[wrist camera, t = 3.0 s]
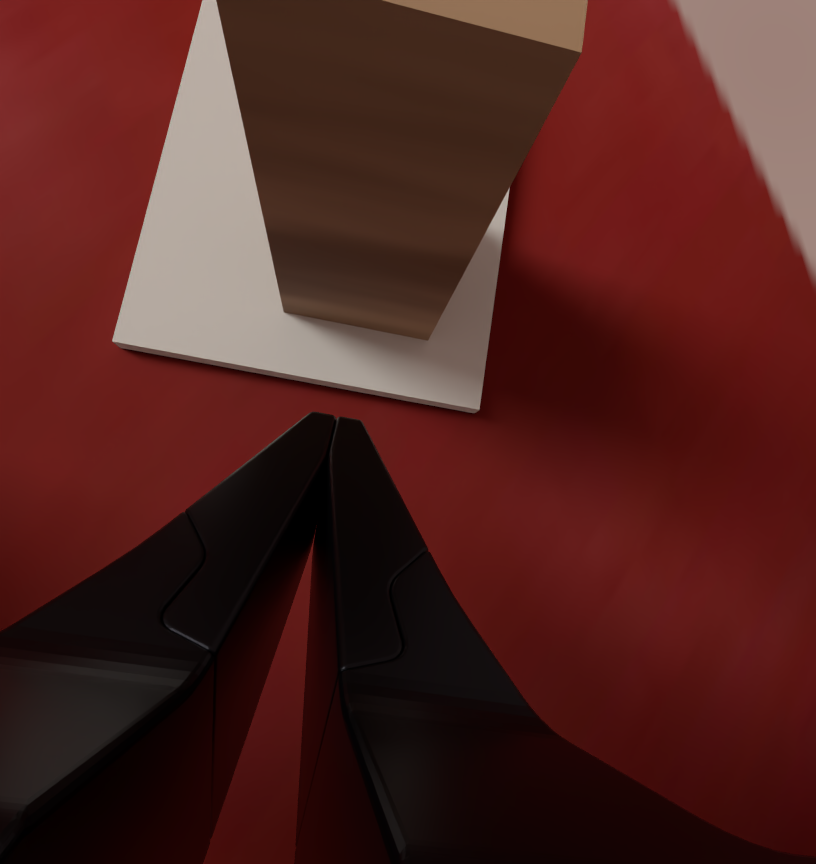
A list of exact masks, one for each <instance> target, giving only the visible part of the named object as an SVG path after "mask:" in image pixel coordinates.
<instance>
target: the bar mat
mask: <svg viewBox="0 0 816 864" xmlns="http://www.w3.org/2000/svg"><path fill="white" fill-rule="evenodd" d="M509 189H510V188H509ZM508 197H509V190H508V191H507V193H506V195H505V197H504V199H503V201H502V203H501V205H500V207H499V208H498V210H497V212H496V214H495V216H494V218H493V220H492V222H491V223H490V225H489V227H488V229H487V231H486V233H485V235H484V237H483V238H482V240H481V242H480V244H479V246H478V248H477V250H476V252H475V253H474V255H473V257H472V259H471V261H470V263H469V265H468V267H467V268H466V270H465V272H464V274H463V276H462V278H461V280H460V282H459V283H458V285H457V287H456V289H455V291H454V293H453V295H452V297H451V298H450V300H449V302H448V304H447V306H446V308H445V310H444V312H443V314H442V315H441V317H440V319H439V321H438V323H437V325H436V327H435V329H434V330H433V332H432V334H431V336H430V338H429V340H428V341H427V340H422V339H417V338H412V337H407V336H402V335H397V334H391V333H386V332H381V331H376V330H371V329H366V328H361V327H356V326H351V325H346V324H341V323H336V322H331V321H326V320H321V319H316V318H311V317H306V316H301V315H295V314H290V313H285V312H283V307H282V302H281V298H280V293H279V289H278V284H277V279H276V275H275V270H274V265H273V261H272V256H271V252H270V247H269V242H268V238H267V233H266V228H265V224H264V219H263V215H262V210H261V205H260V201H259V196H258V192H257V187H256V182H255V178H254V173H253V168H252V164H251V159H250V155H249V150H248V145H247V141H246V136H245V131H244V127H243V122H242V118H241V113H240V108H239V104H238V99H237V95H236V90H235V85H234V81H233V76H232V71H231V67H230V62H229V58H228V53H227V48H226V44H225V39H224V34H223V30H222V25H221V21H220V16H219V11H218V7H217V2H216V0H203V1H202V5H201V8H200V12H199V16H198V20H197V23H196V27H195V31H194V35H193V39H192V42H191V46H190V50H189V54H188V57H187V61H186V65H185V69H184V72H183V76H182V80H181V84H180V88H179V91H178V95H177V99H176V103H175V106H174V110H173V114H172V118H171V121H170V125H169V129H168V133H167V137H166V140H165V144H164V148H163V152H162V155H161V159H160V163H159V167H158V171H157V174H156V178H155V182H154V186H153V189H152V193H151V197H150V201H149V204H148V208H147V212H146V216H145V220H144V223H143V227H142V231H141V235H140V238H139V242H138V246H137V250H136V253H135V257H134V261H133V265H132V269H131V272H130V276H129V280H128V284H127V287H126V291H125V295H124V299H123V303H122V306H121V310H120V314H119V318H118V321H117V325H116V329H115V333H114V336H113V340H112V342H114V343H115V344H116V345H117V346H118V347H120V348H124V349H130V350H135V351H140V352H146V353H151V354H157V355H162V356H167V357H173V358H178V359H183V360H189V361H194V362H200V363H205V364H210V365H216V366H221V367H227V368H232V369H237V370H243V371H248V372H254V373H259V374H264V375H270V376H275V377H281V378H286V379H291V380H297V381H302V382H307V383H313V384H318V385H324V386H329V387H334V388H340V389H345V390H351V391H356V392H361V393H367V394H372V395H378V396H383V397H388V398H394V399H399V400H404V401H410V402H415V403H421V404H426V405H431V406H437V407H442V408H448V409H453V410H458V411H464V412H469V413H476V412H477V411H478V410H479V409H480V402H481V395H482V387H483V380H484V373H485V365H486V358H487V351H488V343H489V336H490V329H491V321H492V314H493V307H494V299H495V292H496V285H497V277H498V270H499V263H500V255H501V248H502V241H503V233H504V226H505V219H506V211H507V204H508Z"/></svg>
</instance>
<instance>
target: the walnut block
mask: <svg viewBox="0 0 816 864" xmlns="http://www.w3.org/2000/svg"><path fill="white" fill-rule="evenodd" d="M587 1H588V0H216V2H217V7H218V11H219V16H220V21H221V25H222V30H223V34H224V39H225V44H226V48H227V53H228V58H229V62H230V67H231V71H232V76H233V81H234V85H235V90H236V95H237V99H238V104H239V108H240V113H241V118H242V122H243V127H244V131H245V136H246V141H247V145H248V150H249V155H250V159H251V164H252V168H253V173H254V178H255V182H256V187H257V192H258V196H259V201H260V205H261V210H262V215H263V219H264V224H265V228H266V233H267V238H268V242H269V247H270V252H271V256H272V261H273V265H274V270H275V275H276V279H277V284H278V289H279V293H280V298H281V302H282V307H283V312H285V313H290V314H295V315H301V316H306V317H311V318H316V319H321V320H326V321H331V322H336V323H341V324H346V325H351V326H356V327H361V328H366V329H371V330H376V331H381V332H386V333H391V334H397V335H402V336H407V337H412V338H417V339H422V340H427V341H428V340H429V338H430V336H431V334H432V332H433V330H434V329H435V327H436V325H437V323H438V321H439V319H440V317H441V315H442V314H443V312H444V310H445V308H446V306H447V304H448V302H449V300H450V298H451V297H452V295H453V293H454V291H455V289H456V287H457V285H458V283H459V282H460V280H461V278H462V276H463V274H464V272H465V270H466V268H467V267H468V265H469V263H470V261H471V259H472V257H473V255H474V253H475V252H476V250H477V248H478V246H479V244H480V242H481V240H482V238H483V237H484V235H485V233H486V231H487V229H488V227H489V225H490V223H491V222H492V220H493V218H494V216H495V214H496V212H497V210H498V208H499V207H500V205H501V203H502V201H503V199H504V197H505V195H506V193H507V191H508V190H509V188H510V186H511V184H512V182H513V180H514V178H515V176H516V175H517V173H518V171H519V169H520V167H521V165H522V163H523V161H524V160H525V158H526V156H527V154H528V152H529V150H530V148H531V146H532V145H533V143H534V141H535V139H536V137H537V135H538V133H539V131H540V130H541V128H542V126H543V124H544V122H545V120H546V118H547V116H548V115H549V113H550V111H551V109H552V107H553V105H554V103H555V101H556V99H557V98H558V96H559V94H560V92H561V90H562V88H563V86H564V84H565V83H566V81H567V79H568V77H569V75H570V73H571V71H572V69H573V68H574V66H575V64H576V62H577V60H578V58H579V56H580V54H581V53H582V44H583V36H584V27H585V18H586V10H587Z"/></svg>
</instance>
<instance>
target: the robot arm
mask: <svg viewBox="0 0 816 864" xmlns="http://www.w3.org/2000/svg"><path fill="white" fill-rule="evenodd" d="M316 525H317V526H316ZM315 530H316V532H315ZM314 535H315V538H314ZM313 539H314V545H313V556H312V572H311V589H310V606H309V623H308V640H307V658H306V675H305V692H304V709H303V726H302V744H301V761H300V778H299V795H298V812H297V829H296V851H295V863H294V864H816V857H813V856H804V855H795V854H790V853H785V852H780V851H775V850H772V849H769V848H765V847H762V846H759V845H756V844H753V843H751V842H748V841H746V840H744V839H741V838H739V837H737V836H734V835H732V834H730V833H727V832H725V831H723V830H721V829H719V828H717V827H716V826H714V825H712V824H710V823H708V822H706V821H704V820H702V819H701V818H699V817H697V816H695V815H694V814H692V813H690V812H689V811H687V810H685V809H683V808H682V807H680V806H678V805H677V804H675V803H673V802H671V801H670V800H668V799H666V798H665V797H663V796H661V795H659V794H658V793H656V792H654V791H653V790H651V789H649V788H647V787H646V786H644V785H642V784H641V783H639V782H637V781H635V780H634V779H632V778H630V777H628V776H627V775H625V774H623V773H622V772H620V771H618V770H616V769H615V768H613V767H611V766H610V765H608V764H606V763H604V762H603V761H601V760H599V759H598V758H596V757H594V756H592V755H591V754H589V753H587V752H586V751H584V750H582V749H580V748H579V747H577V746H575V745H574V744H572V743H570V742H569V741H567V740H565V739H564V738H562V737H561V736H559V735H558V734H557V733H556V732H554V731H553V730H552V729H551V728H550V727H549V726H548V725H547V724H546V723H545V722H544V721H543V720H542V719H541V718H540V717H539V716H538V715H537V714H536V713H535V712H534V710H533V709H532V708H531V707H530V706H529V704H528V703H527V702H526V700H525V699H524V698H523V696H522V695H521V694H520V692H519V691H518V689H517V688H516V686H515V685H514V683H513V682H512V681H511V679H510V678H509V676H508V675H507V673H506V672H505V670H504V669H503V668H502V666H501V665H500V663H499V662H498V660H497V659H496V657H495V656H494V655H493V653H492V652H491V650H490V649H489V647H488V646H487V645H486V643H485V642H484V640H483V639H482V637H481V636H480V634H479V633H478V632H477V630H476V629H475V627H474V626H473V624H472V623H471V621H470V620H469V618H468V617H467V615H466V614H465V612H464V611H463V609H462V608H461V606H460V604H459V603H458V601H457V600H456V598H455V597H454V595H453V593H452V592H451V590H450V588H449V586H448V585H447V583H446V581H445V579H444V578H443V576H442V574H441V572H440V570H439V569H438V567H437V565H436V563H435V561H434V559H433V557H432V555H431V553H430V552H428V548H427V546H426V544H425V542H424V540H423V538H422V536H421V534H420V532H419V530H418V528H417V526H416V524H415V522H414V521H413V519H412V517H411V515H410V513H409V511H408V509H407V507H406V505H405V503H404V501H403V499H402V497H401V495H400V494H399V492H398V490H397V488H396V486H395V484H394V482H393V480H392V478H391V476H390V474H389V472H388V470H387V469H386V467H385V465H384V463H383V461H382V459H381V457H380V455H379V453H378V451H377V449H376V447H375V445H374V443H373V442H372V440H371V438H370V436H369V434H368V432H367V430H366V428H365V426H364V424H363V422H362V421H360V420H357V419H352V418H346V417H338V418H337V419H336V418H335V416H333V415H330V414H324V413H319V412H310V413H309V414H308V415H306V416H305V417H304V418H303V419H301V420H300V421H299V422H297V423H296V424H295V425H294V426H292V427H291V428H290V429H288V430H287V431H286V432H285V433H283V434H282V435H281V436H279V437H278V438H277V439H276V440H274V441H273V442H272V443H271V444H269V445H268V446H267V447H265V448H264V449H263V450H262V451H260V452H259V453H258V454H256V455H255V456H254V457H253V458H251V459H250V460H249V461H248V462H246V463H245V464H244V465H242V466H241V467H240V468H239V469H237V470H236V471H235V472H233V473H232V474H231V475H230V476H228V477H227V478H226V479H225V480H223V481H222V482H221V483H219V484H218V485H217V486H216V487H214V488H213V489H212V490H210V491H209V492H208V493H207V494H205V495H204V496H203V497H201V498H200V499H199V500H198V501H196V502H195V503H194V504H193V505H191V506H190V507H189V508H187V509H186V511H185V512H182V513H181V514H179V515H178V516H177V517H176V518H174V519H173V520H172V521H170V522H169V523H168V524H167V525H165V526H164V527H163V528H161V529H160V530H159V531H157V532H156V533H154V534H153V535H152V536H150V537H149V538H148V539H146V540H145V541H144V542H142V543H141V544H139V545H138V546H137V547H135V548H134V549H132V550H131V551H129V552H128V553H126V554H124V555H123V556H121V557H120V558H118V559H117V560H115V561H114V562H112V563H111V564H109V565H108V566H106V567H105V568H103V569H101V570H100V571H98V572H97V573H95V574H93V575H92V576H90V577H89V578H87V579H85V580H84V581H82V582H80V583H79V584H77V585H76V586H74V587H72V588H71V589H69V590H67V591H66V592H64V593H63V594H61V595H59V596H58V597H56V598H55V599H53V600H51V601H50V602H48V603H46V604H45V605H43V606H42V607H40V608H38V609H37V610H35V611H34V612H32V613H30V614H29V615H27V616H25V617H24V618H22V619H21V620H19V621H17V622H16V623H14V624H12V625H11V626H9V627H7V628H6V629H4V630H2V631H0V864H203V862H204V859H205V856H206V853H207V850H208V847H209V844H210V839H211V837H212V835H213V832H214V829H215V826H216V824H217V821H218V818H219V815H220V812H221V809H222V806H223V803H224V800H225V797H226V795H227V792H228V789H229V786H230V783H231V780H232V777H233V774H234V771H235V768H236V765H237V763H238V760H239V757H240V754H241V751H242V748H243V745H244V742H245V739H246V736H247V734H248V731H249V728H250V725H251V722H252V719H253V716H254V713H255V710H256V707H257V704H258V702H259V699H260V696H261V693H262V690H263V687H264V684H265V681H266V678H267V675H268V673H269V670H270V667H271V664H272V661H273V658H274V655H275V652H276V649H277V646H278V644H279V641H280V638H281V635H282V632H283V629H284V626H285V623H286V620H287V617H288V614H289V612H290V609H291V606H292V603H293V600H294V597H295V594H296V591H297V588H298V585H299V583H300V580H301V577H302V574H303V571H304V568H305V565H306V562H307V559H308V556H309V553H310V550H311V547H312V543H313Z"/></svg>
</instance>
